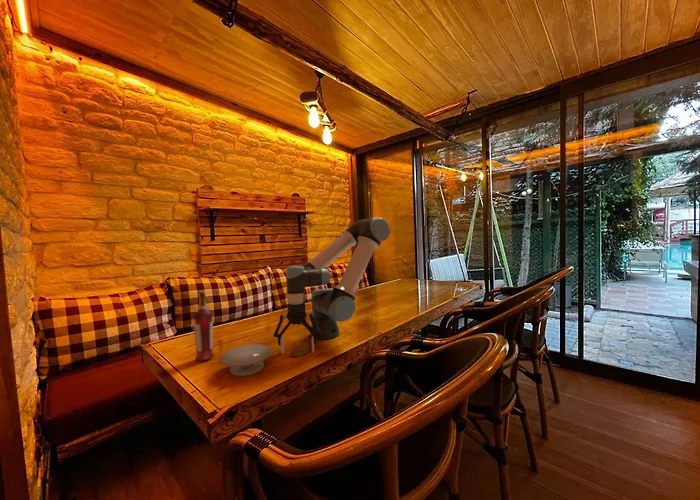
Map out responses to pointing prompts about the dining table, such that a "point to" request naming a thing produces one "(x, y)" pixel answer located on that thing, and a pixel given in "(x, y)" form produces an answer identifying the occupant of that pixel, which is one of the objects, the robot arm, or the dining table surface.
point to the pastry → (300, 349)
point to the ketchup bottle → (203, 330)
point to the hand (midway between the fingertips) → (297, 352)
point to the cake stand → (246, 359)
